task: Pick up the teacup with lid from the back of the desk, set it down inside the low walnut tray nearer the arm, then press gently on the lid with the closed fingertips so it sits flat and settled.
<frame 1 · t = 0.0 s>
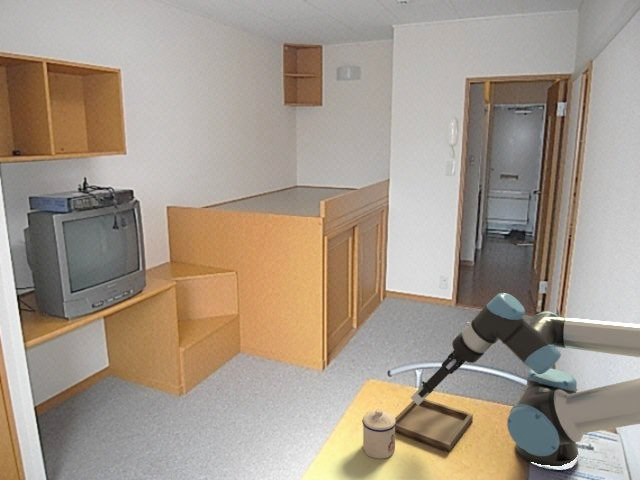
hand: (425, 390, 132), 15 cm above the table, tool tilted 35°, fingers open, 13 cm apart
teacup with lid: (379, 446, 133), on the table
walnut tray: (431, 426, 142), on the table
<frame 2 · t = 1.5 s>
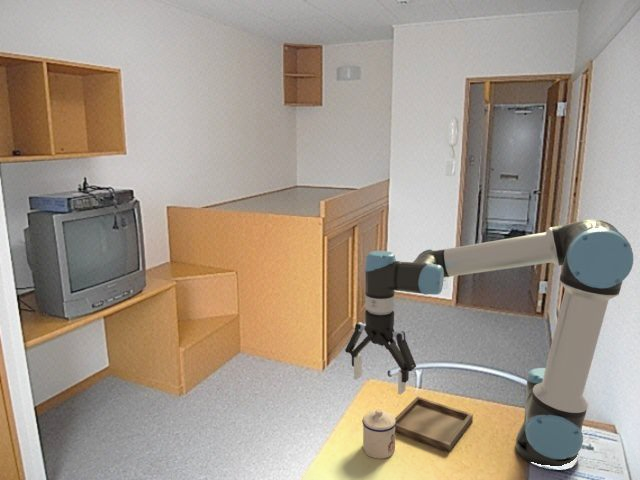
hand: (379, 384, 130), 18 cm above the table, tool pointing down, fingers open, 13 cm apart
nothing on the table moved.
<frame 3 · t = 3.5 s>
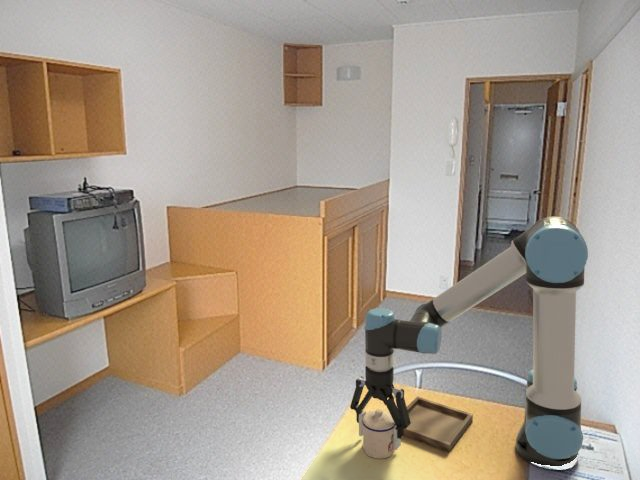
hand: (379, 440, 133), 2 cm above the table, tool pointing down, fingers open, 10 cm apart
teacup with lid: (379, 446, 133), on the table, touching gripper
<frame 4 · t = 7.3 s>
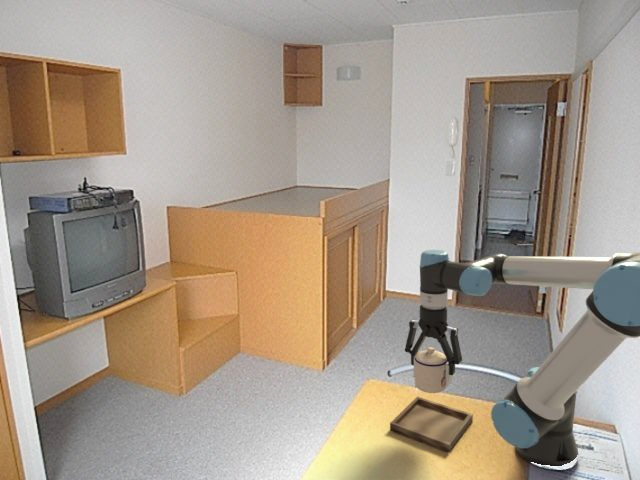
hand: (432, 380, 138), 15 cm above the table, tool pointing down, fingers closed on teacup with lid, 9 cm apart
teacup with lid: (429, 384, 139), point 14 cm above the table, touching gripper
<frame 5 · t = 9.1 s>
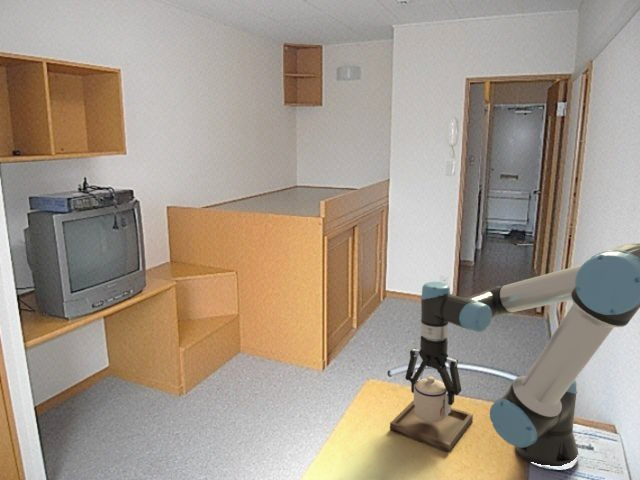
hand: (431, 408, 141), 6 cm above the table, tool pointing down, fingers closed on teacup with lid, 9 cm apart
teacup with lid: (429, 412, 142), point 4 cm above the table, touching gripper
when the fingers open (3 cm above the table, at t = 10.5 s): teacup with lid drops 1 cm, resting on walnut tray.
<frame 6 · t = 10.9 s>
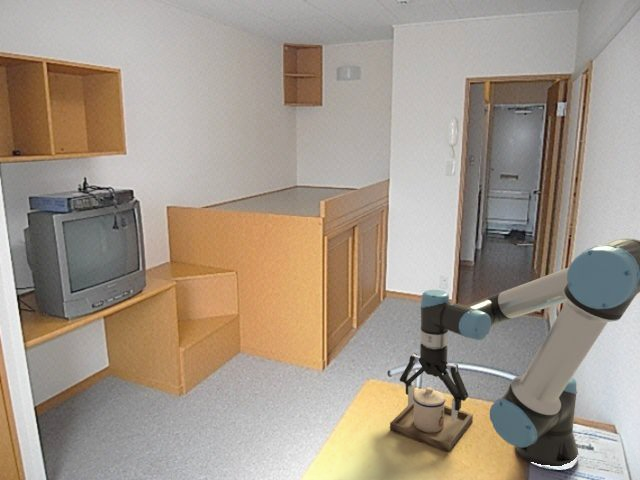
hand: (432, 411, 141), 5 cm above the table, tool pointing down, fingers open, 13 cm apart
teacup with lid: (428, 422, 142), point 1 cm above the table, touching walnut tray
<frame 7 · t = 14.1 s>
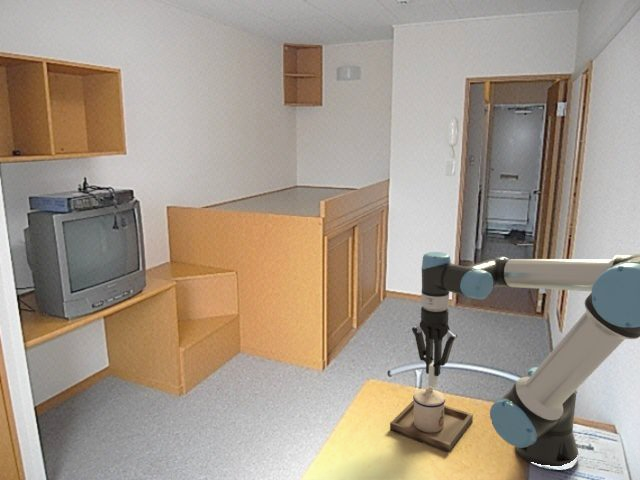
hand: (432, 384, 139), 13 cm above the table, tool pointing down, fingers closed
nothing on the table moved.
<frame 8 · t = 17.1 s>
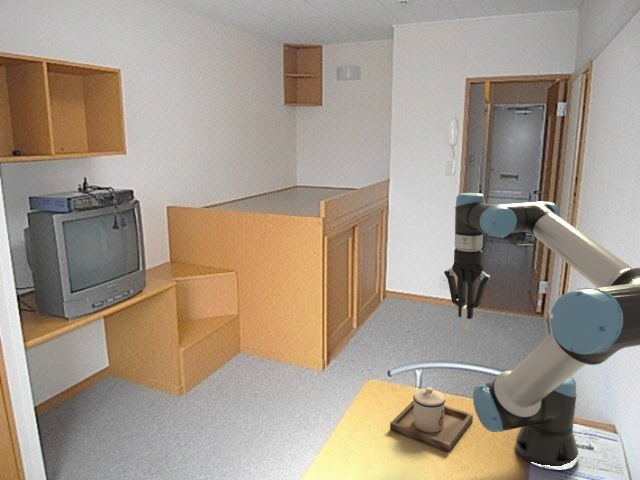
hand: (465, 328, 139), 29 cm above the table, tool pointing down, fingers closed
nothing on the table moved.
at the end: teacup with lid inside the target area on the walnut tray (1.2 cm from its centre), point 0.8 cm above the walnut tray's base; teacup with lid tilted 0°; the gripper is holding nothing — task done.
